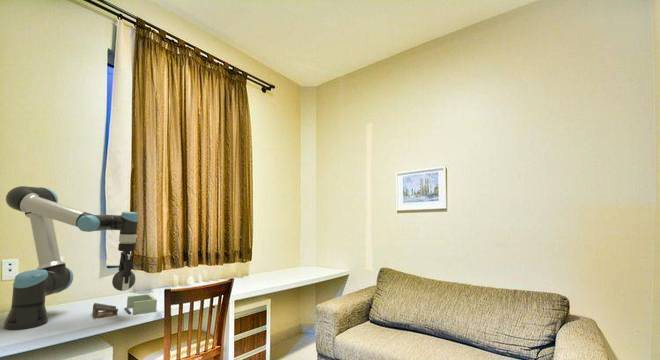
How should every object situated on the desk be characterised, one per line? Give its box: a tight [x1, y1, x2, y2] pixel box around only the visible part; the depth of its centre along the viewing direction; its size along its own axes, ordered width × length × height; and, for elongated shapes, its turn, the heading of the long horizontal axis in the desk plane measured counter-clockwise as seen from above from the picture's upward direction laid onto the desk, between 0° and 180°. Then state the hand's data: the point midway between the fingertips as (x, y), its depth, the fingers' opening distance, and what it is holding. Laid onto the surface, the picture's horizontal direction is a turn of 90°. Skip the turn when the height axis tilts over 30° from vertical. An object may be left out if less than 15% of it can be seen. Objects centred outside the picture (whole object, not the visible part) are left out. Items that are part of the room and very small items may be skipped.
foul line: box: [124, 306, 132, 315], centre depth 182 cm, size 1×11×1 cm, turn 40°
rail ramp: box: [91, 302, 119, 319], centre depth 176 cm, size 10×9×6 cm
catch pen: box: [126, 293, 158, 316], centre depth 187 cm, size 11×15×6 cm
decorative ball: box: [111, 270, 136, 292], centre depth 174 cm, size 10×10×10 cm
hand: (123, 287), depth 174 cm, fingers closed on decorative ball, 10 cm apart
